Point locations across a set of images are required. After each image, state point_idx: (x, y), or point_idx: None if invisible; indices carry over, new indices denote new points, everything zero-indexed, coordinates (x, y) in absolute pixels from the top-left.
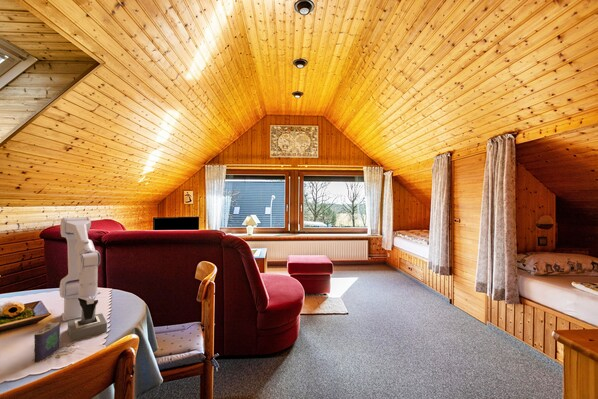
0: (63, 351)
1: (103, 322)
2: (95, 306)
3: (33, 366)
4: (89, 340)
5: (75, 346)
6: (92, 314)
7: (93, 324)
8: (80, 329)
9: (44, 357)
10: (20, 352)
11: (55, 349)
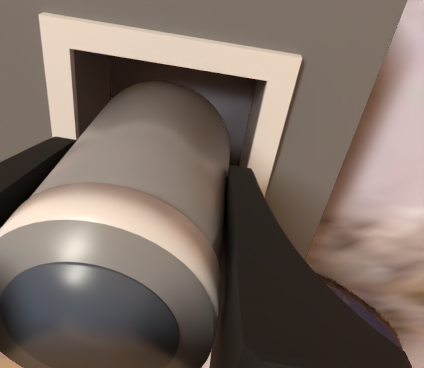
0: (397, 274)
1: (341, 28)
2: (166, 204)
3: (419, 361)
4: (400, 145)
5: (399, 224)
6: (264, 198)
7: (293, 126)
8: (310, 230)
9: (398, 342)
10: (208, 357)
11: (359, 306)
